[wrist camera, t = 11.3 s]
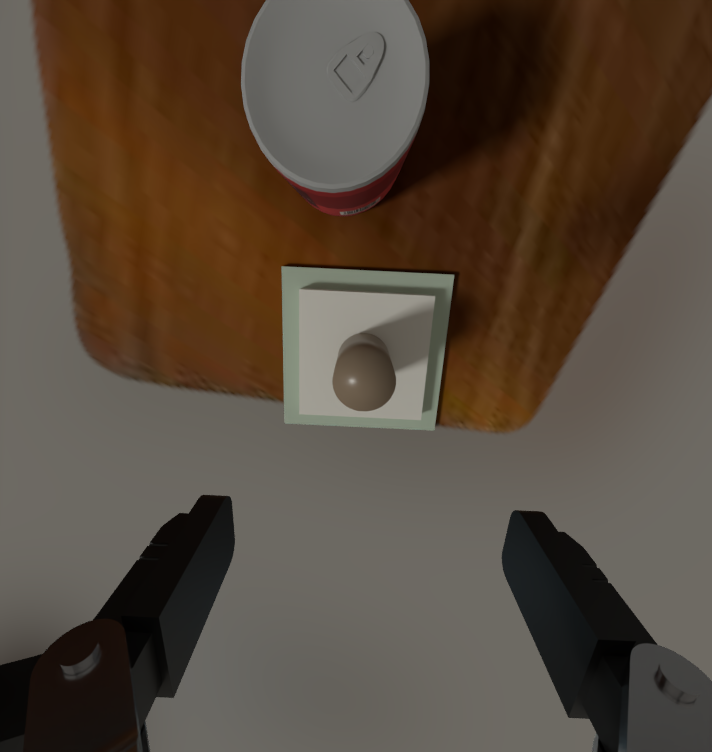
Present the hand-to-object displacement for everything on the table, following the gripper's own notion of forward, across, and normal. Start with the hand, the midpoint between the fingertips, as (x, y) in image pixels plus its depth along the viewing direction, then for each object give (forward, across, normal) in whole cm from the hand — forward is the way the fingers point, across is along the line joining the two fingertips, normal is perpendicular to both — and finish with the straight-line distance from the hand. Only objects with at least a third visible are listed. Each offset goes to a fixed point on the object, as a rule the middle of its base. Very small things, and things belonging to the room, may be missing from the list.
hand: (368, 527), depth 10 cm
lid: (+20, 0, 0) cm, 20 cm away
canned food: (+20, +2, -14) cm, 25 cm away
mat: (+20, 0, 0) cm, 20 cm away
